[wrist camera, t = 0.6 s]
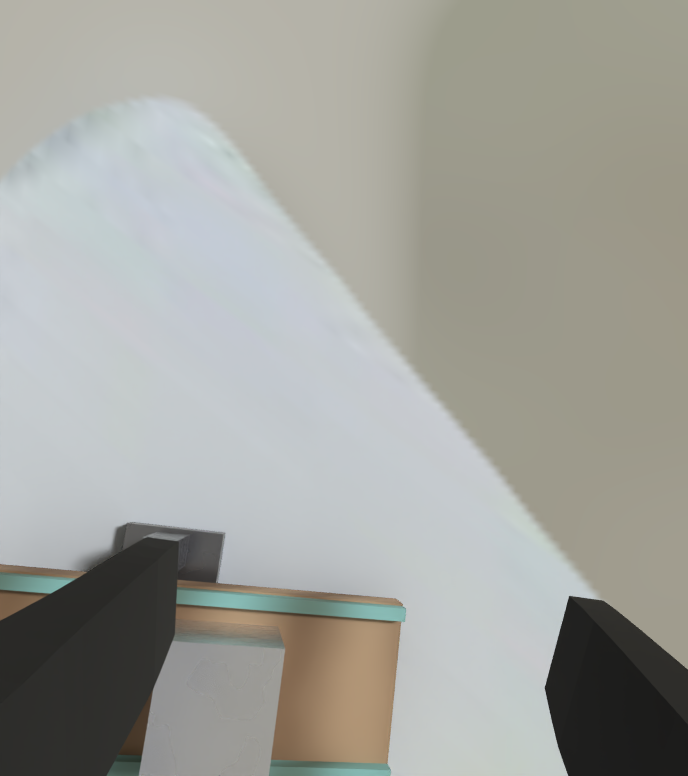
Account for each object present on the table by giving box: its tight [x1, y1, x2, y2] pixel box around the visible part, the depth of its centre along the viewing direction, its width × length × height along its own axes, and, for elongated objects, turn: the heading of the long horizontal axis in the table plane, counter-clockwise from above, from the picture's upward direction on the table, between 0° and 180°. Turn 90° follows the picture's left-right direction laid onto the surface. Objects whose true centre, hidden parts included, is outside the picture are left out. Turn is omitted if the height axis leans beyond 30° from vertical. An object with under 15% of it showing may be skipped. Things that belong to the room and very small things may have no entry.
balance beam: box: [0, 564, 406, 776], centre depth 26 cm, size 22×8×2 cm, turn 83°
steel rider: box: [139, 619, 285, 776], centre depth 24 cm, size 5×5×4 cm
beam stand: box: [122, 522, 225, 583], centre depth 27 cm, size 5×12×4 cm, turn 173°
